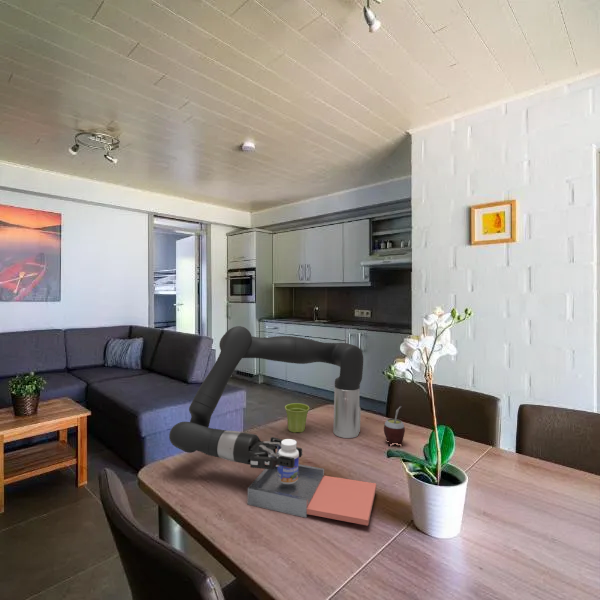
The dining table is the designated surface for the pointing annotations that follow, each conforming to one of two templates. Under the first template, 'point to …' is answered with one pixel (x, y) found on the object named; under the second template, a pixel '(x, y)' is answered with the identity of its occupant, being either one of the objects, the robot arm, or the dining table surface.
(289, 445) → the pill bottle
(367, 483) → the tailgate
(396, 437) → the mate gourd
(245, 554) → the dining table surface
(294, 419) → the plant pot
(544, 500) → the dining table surface
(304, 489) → the grey square tray
